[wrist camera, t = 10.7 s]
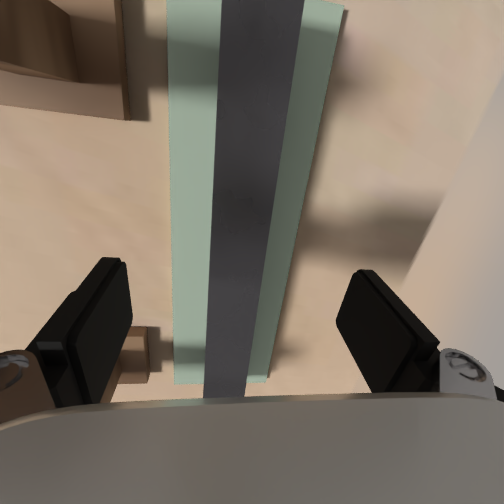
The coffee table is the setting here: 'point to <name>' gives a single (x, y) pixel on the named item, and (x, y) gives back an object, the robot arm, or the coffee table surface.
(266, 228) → the rail
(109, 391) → the rack
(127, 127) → the coffee table surface
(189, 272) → the mat
